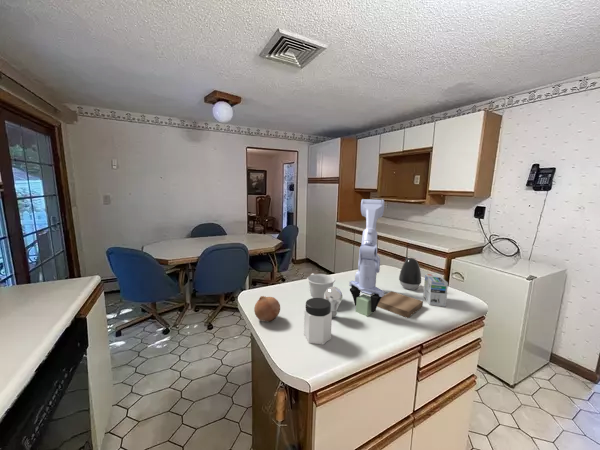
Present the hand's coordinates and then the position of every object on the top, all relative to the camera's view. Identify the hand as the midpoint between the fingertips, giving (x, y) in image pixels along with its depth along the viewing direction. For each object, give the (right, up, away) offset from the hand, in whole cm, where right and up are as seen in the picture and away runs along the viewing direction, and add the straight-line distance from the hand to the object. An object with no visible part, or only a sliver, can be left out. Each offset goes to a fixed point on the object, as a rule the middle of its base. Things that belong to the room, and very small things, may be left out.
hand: (364, 308), depth 104 cm
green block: (0, -2, 0) cm, 2 cm away
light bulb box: (+33, -1, +12) cm, 35 cm away
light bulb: (-14, -2, -4) cm, 14 cm away
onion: (-38, -2, -7) cm, 39 cm away
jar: (-20, -4, -18) cm, 27 cm away
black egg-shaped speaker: (+29, +2, +26) cm, 39 cm away
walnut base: (+16, -1, +6) cm, 17 cm away
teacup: (-18, 0, +11) cm, 21 cm away
